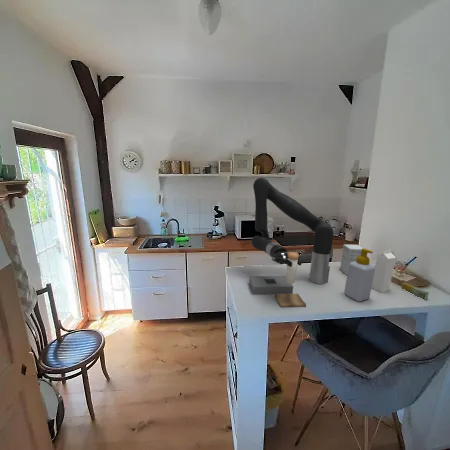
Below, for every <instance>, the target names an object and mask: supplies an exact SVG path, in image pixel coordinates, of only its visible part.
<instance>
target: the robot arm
mask: <svg viewBox="0 0 450 450" xmlns="http://www.w3.org/2000/svg"><path fill="white" fill-rule="evenodd" d="M252 187H253V192H254V200H255V201H254V202H255V210H254V211H255V215H254V229H255V232H258V233H259V232H260V233H261V235H255V236H253V237H252V239H251V241H250V242H251V245H252V247H253V248H254V249H256V250H259V251H262V252H264V253H266V254H268V256H269V257H271V261H273V262H274V263H277V264H280V265H282V264H283V265H286V266H287V265H288V266H290V267H292V262H291V261H289V260H288V252H289V251H288V250H287V249H286V247H284V246H282V245H280V244H279V243H277V242H275V241H273V240H271V238H270V234H269V230H268V207H267V205H268V202H267V201H270V202H271V203H272V204H273V205H274V206H276V207H277V208H278V209H279V210H280V211H281V212H282V213H283V214H285V215H286V216H287V217H289V218H290V219H292V220H294V221H296V222H298V223H300V224H303V225H304V226H306V227H307V228H309V229H310V230H311V231H312V232H313V233H314V237H313V246H312V253H311V262H310V267H309V277H308V279H309V281H310V282H311V283H315V284H318V285H324V284H326V283H329V275H330V270H331V269H330V268H331V266H329V264H330V259H331V251H332V247H333V240H334V229H333V227H332V225H331V224H330V223H328V222H326V221H325V220H323V219H321V218H320V217H317V215H314V213H312V212H311V211H310V210H309V209H307V208H306V207H305V206H304V205H303V204H301V203H299V202H298V201H297V200H295V199H294V198H293V197H291V196H289V195H288V194H285V193H283V192H281V191H280V190H278V189H277V188H276V187H275V186H273V185H272V184H271V183H270V182H269V180H268V179H266V178H264V177H258V178H256V179H255V180H254V182H253V186H252ZM300 258H301V257H300V256H299V257H298V262H297V266H302V262H303V261H302V260H300Z"/></svg>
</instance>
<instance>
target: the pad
mask: <svg viewBox="0 0 450 450" xmlns="http://www.w3.org/2000/svg"><path fill="white" fill-rule="evenodd" d="M273 295H274V296H273V297H274V299H275V300H276V302H277V303H278V305H279V307H280V308H305V307H307V304H306V302H305V301H304V300H303V298H302V297H301V296H300V294H299V293H292V294H273Z"/></svg>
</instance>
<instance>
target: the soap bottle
mask: <svg viewBox="0 0 450 450" xmlns="http://www.w3.org/2000/svg"><path fill="white" fill-rule="evenodd" d="M368 254H373V251H372V250H370V249H368V248H364V247H362V251H361V255H359V256H358V257H357V259H356V261H354V262H351V263H350V264H349V267H348V273H347V275H346V281H345V285H344V291H343V293H344V295H345V296H347V297H349V298H351V299H353V300H354V301H357V302H363V301H366V300H369V299H370V296H371V292H372V282H373V277H374V272H375V265H374V264H372V263H371V262H370V261H371V260H370V258H369V257H368Z"/></svg>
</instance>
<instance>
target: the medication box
mask: <svg viewBox="0 0 450 450" xmlns="http://www.w3.org/2000/svg"><path fill="white" fill-rule="evenodd" d="M400 288H402V289H405V290H406V291H408V292H410V293H412V294H414V295H415V296H414V295H413V296H414V297H416V296H417V297H416V298H418V297H420V298H422V299H424V300H423V301H426V300H425V299H427V300H428V297H429V291H426V290H423V289H421V288H419V287H417V286H415V285H412V284H410V283H408V282H402V285H401V287H400ZM402 289H401V290H402ZM406 291H405V292H406ZM408 292H407V293H408ZM410 293H409V294H410ZM412 294H411V295H412ZM420 298H419V299H420ZM422 299H421V300H422Z"/></svg>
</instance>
